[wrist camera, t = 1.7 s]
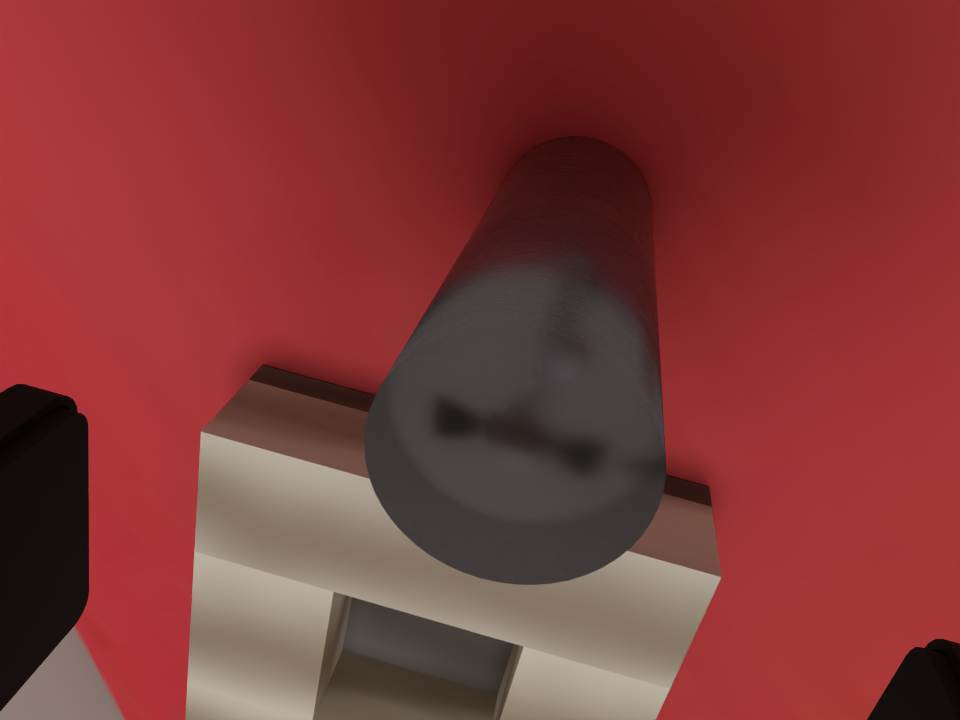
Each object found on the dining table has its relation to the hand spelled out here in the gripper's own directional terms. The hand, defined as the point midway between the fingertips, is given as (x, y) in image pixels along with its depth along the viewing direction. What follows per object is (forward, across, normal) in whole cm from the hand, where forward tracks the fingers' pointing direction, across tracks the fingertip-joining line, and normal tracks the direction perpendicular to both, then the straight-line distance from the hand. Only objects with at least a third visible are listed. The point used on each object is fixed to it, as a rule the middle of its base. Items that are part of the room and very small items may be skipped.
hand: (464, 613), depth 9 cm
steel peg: (+14, 0, -1) cm, 14 cm away
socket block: (+14, +1, +13) cm, 19 cm away
